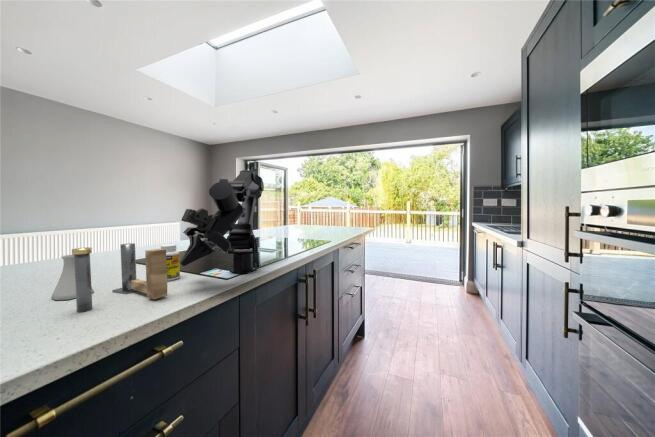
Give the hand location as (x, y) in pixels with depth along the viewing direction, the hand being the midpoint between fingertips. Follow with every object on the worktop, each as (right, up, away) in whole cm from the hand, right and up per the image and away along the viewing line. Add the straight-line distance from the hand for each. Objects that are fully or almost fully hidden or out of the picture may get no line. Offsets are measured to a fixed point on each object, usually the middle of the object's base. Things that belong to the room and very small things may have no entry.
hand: (181, 264), depth 64 cm
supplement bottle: (-11, -7, +13) cm, 18 cm away
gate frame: (-15, -7, -3) cm, 17 cm away
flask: (-26, -8, -1) cm, 27 cm away
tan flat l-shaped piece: (-8, -7, -1) cm, 10 cm away
